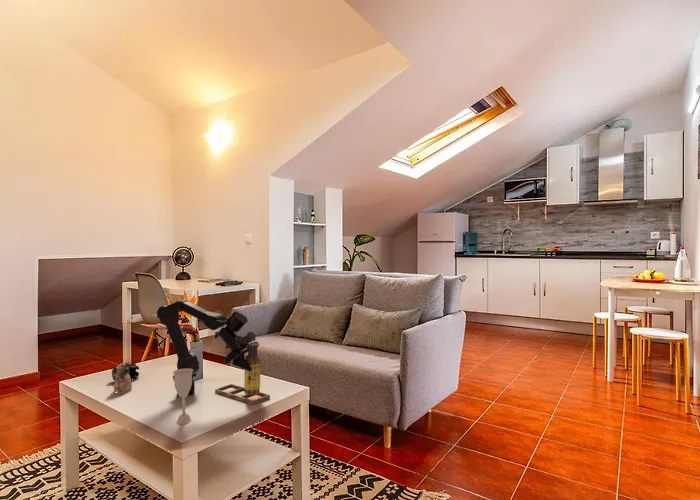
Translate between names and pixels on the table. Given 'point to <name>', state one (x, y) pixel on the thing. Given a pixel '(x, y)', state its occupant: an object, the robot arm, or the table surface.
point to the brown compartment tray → (241, 394)
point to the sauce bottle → (252, 371)
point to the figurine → (122, 379)
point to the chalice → (183, 390)
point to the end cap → (132, 373)
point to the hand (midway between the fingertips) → (255, 368)
